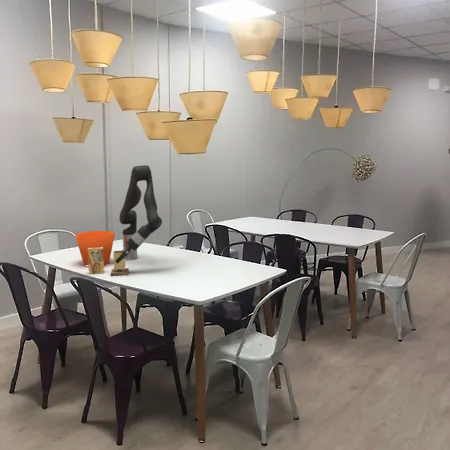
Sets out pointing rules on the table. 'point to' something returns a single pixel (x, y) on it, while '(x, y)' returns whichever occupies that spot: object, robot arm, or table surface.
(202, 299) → the table surface
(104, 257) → the flowerpot
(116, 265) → the sleeve
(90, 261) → the candy box
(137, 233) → the robot arm
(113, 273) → the post base
